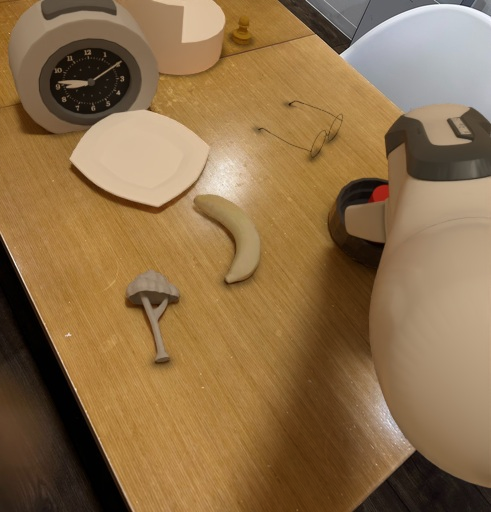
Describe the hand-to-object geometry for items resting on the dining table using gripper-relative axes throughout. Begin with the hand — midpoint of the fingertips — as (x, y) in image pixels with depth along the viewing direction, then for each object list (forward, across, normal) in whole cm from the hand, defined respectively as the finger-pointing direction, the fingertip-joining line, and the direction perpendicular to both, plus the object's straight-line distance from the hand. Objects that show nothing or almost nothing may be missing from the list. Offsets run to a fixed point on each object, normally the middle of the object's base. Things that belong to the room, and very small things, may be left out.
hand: (384, 207), depth 75 cm
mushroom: (-2, +36, +10) cm, 38 cm away
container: (+41, +20, -33) cm, 56 cm away
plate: (+18, +32, -10) cm, 38 cm away
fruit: (+6, +24, +2) cm, 25 cm away
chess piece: (+41, +5, -34) cm, 53 cm away
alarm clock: (+27, +39, -19) cm, 51 cm away
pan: (+3, 0, +4) cm, 5 cm away
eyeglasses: (+20, +3, -13) cm, 24 cm away
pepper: (+3, 0, +4) cm, 5 cm away
